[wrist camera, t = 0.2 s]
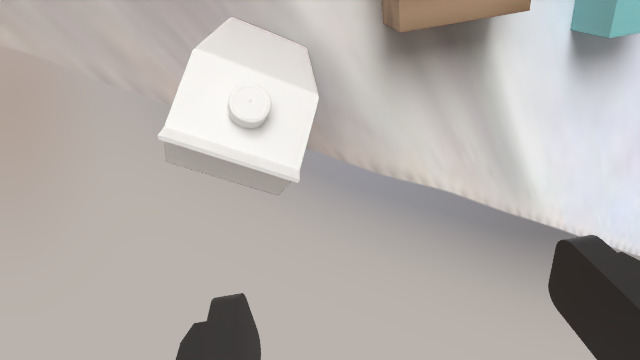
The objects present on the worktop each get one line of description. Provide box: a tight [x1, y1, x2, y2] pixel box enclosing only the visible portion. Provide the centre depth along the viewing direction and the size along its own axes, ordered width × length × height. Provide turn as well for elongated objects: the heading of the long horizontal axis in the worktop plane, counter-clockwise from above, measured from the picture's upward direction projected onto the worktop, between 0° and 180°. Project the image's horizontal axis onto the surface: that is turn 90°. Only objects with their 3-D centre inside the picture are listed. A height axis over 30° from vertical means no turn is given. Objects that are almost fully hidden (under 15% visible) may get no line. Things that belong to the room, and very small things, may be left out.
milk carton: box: [158, 17, 319, 195], centre depth 27 cm, size 7×7×19 cm
